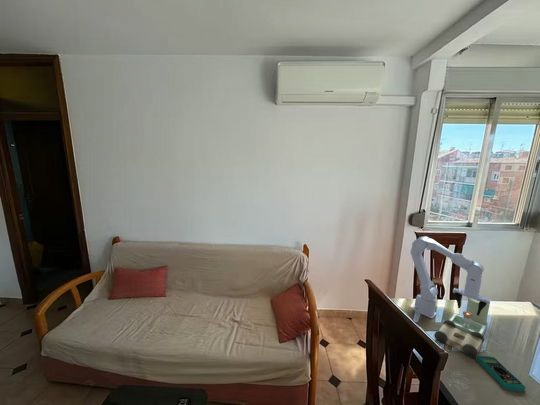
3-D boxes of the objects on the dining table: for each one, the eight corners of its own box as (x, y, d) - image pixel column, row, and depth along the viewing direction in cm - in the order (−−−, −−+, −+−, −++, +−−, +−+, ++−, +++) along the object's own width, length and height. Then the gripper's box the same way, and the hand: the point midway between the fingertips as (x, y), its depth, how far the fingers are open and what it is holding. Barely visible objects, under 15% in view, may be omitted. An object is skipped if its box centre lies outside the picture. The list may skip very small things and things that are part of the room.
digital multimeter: (505, 391, 90) (507, 385, 89) (475, 360, 105) (476, 354, 104) (526, 393, 89) (528, 387, 89) (492, 361, 104) (494, 355, 104)
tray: (447, 327, 125) (448, 321, 125) (453, 319, 132) (454, 313, 131) (479, 341, 115) (481, 335, 115) (484, 332, 122) (485, 326, 122)
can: (491, 324, 128) (495, 304, 126) (474, 324, 128) (477, 303, 126) (477, 314, 137) (480, 294, 135) (460, 313, 137) (463, 294, 136)
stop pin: (459, 328, 123) (462, 313, 122) (461, 325, 126) (464, 310, 125) (469, 333, 120) (472, 317, 119) (471, 329, 123) (474, 314, 121)
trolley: (433, 339, 116) (435, 329, 115) (443, 326, 126) (444, 318, 125) (476, 360, 104) (477, 349, 103) (483, 344, 113) (485, 335, 113)
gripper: (452, 282, 123) (449, 307, 125) (490, 295, 112) (485, 321, 114) (456, 279, 128) (453, 302, 130) (493, 290, 117) (488, 315, 119)
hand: (468, 310), depth 122 cm, fingers open, 7 cm apart
